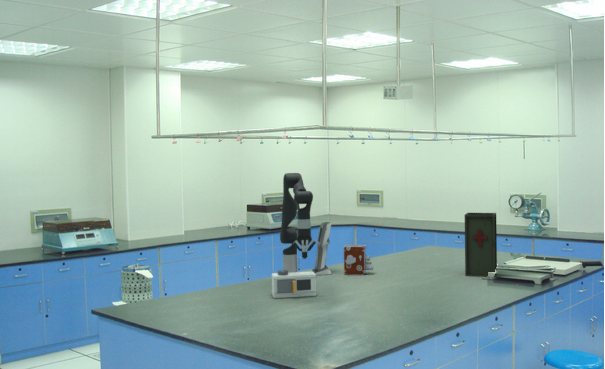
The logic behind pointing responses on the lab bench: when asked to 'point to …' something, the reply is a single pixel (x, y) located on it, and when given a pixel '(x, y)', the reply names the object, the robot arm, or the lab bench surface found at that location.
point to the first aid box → (480, 244)
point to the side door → (286, 286)
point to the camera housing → (303, 283)
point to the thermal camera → (322, 250)
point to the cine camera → (356, 260)
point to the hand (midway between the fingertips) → (304, 258)
